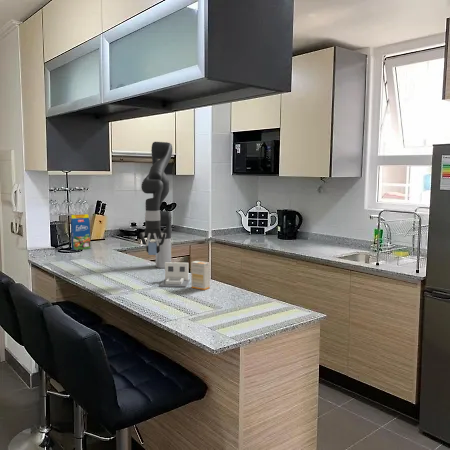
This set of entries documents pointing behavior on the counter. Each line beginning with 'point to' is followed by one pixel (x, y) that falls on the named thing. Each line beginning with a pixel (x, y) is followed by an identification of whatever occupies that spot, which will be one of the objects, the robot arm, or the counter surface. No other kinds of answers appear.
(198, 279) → the supplement box
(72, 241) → the blue food package
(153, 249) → the block
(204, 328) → the counter surface
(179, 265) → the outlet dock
